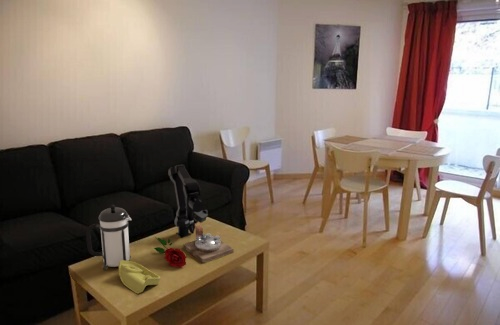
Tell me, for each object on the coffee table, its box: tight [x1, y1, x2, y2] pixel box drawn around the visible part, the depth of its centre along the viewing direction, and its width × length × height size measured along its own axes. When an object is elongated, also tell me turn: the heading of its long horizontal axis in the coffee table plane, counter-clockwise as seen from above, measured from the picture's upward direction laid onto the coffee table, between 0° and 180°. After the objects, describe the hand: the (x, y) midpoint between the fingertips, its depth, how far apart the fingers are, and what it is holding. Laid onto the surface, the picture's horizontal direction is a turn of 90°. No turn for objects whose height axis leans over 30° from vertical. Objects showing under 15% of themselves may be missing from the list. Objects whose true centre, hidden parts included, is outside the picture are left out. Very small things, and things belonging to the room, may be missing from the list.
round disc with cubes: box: [194, 224, 222, 252], centre depth 195 cm, size 18×13×7 cm
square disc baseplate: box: [182, 234, 235, 264], centre depth 194 cm, size 20×18×2 cm
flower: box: [153, 236, 187, 268], centre depth 186 cm, size 9×10×30 cm
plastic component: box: [118, 260, 161, 294], centre depth 165 cm, size 20×7×10 cm
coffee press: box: [85, 204, 132, 271], centre depth 175 cm, size 17×16×30 cm
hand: (192, 233), depth 197 cm, fingers closed
